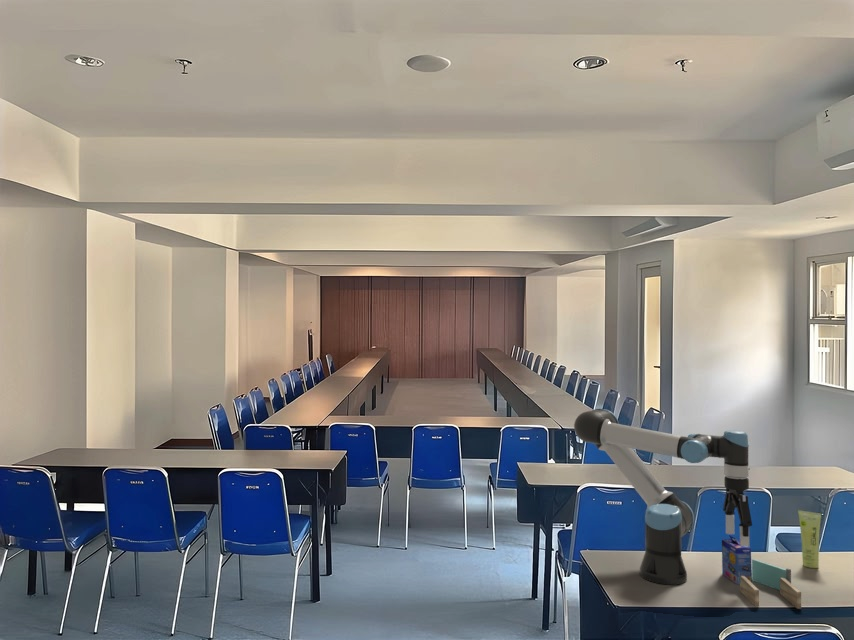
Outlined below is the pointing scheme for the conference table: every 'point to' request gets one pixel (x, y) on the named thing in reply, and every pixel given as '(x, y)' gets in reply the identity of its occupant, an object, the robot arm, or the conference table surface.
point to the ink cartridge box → (736, 560)
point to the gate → (769, 574)
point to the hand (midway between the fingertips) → (737, 539)
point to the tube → (810, 537)
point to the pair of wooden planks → (785, 590)
